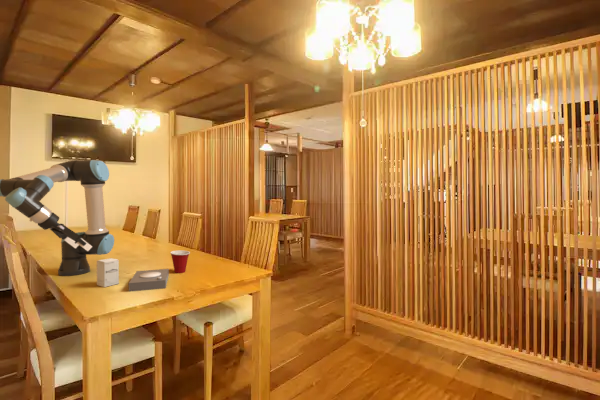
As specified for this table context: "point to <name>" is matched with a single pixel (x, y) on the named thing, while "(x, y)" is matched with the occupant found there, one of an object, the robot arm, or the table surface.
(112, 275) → the supplement box
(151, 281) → the grey base plate
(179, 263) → the plastic cup
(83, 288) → the table surface
